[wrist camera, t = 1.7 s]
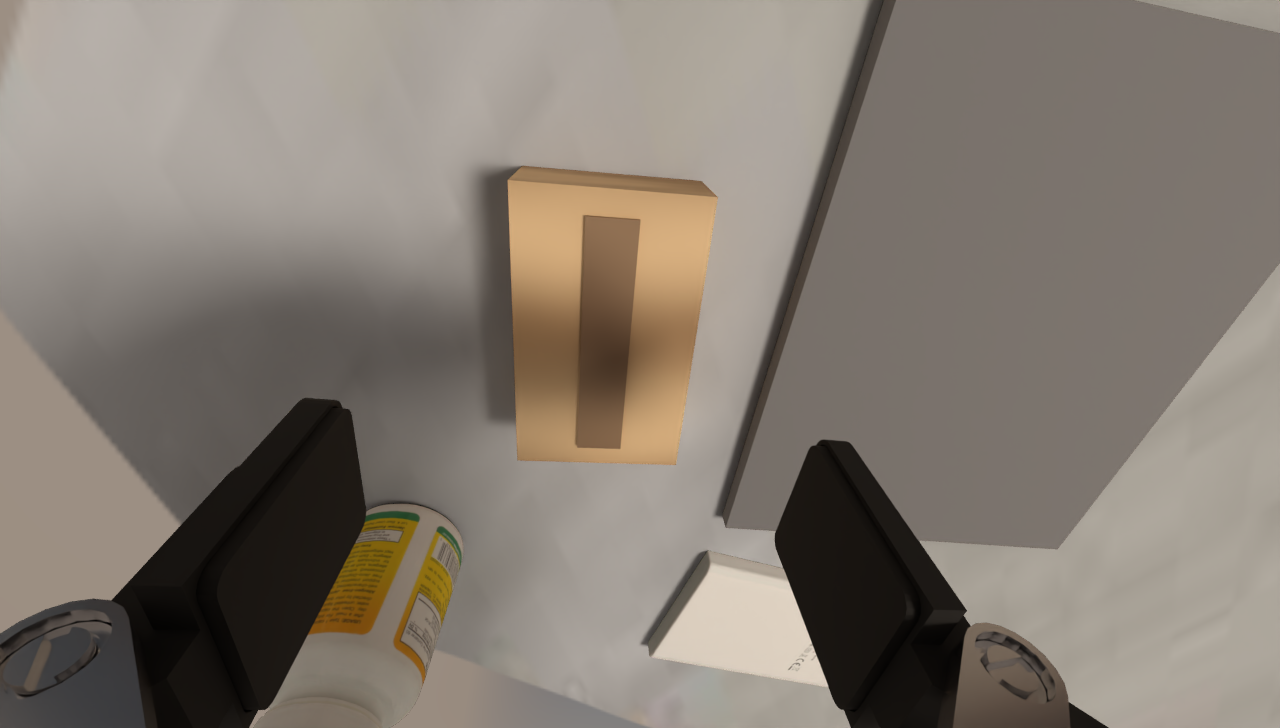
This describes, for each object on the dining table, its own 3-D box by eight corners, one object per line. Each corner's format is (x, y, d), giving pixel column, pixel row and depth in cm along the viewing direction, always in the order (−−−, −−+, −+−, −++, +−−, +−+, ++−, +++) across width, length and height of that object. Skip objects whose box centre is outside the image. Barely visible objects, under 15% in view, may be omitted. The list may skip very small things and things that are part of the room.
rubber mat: (1045, 537, 27) (1057, 549, 26) (722, 515, 25) (725, 527, 24) (1396, 68, 17) (1431, 67, 16) (897, -44, 14) (911, -50, 14)
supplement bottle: (486, 531, 24) (424, 764, 16) (431, 590, 26) (349, 828, 18) (381, 480, 22) (247, 715, 14) (329, 548, 24) (183, 792, 16)
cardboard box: (666, 417, 22) (676, 467, 19) (528, 411, 22) (516, 463, 19) (699, 179, 17) (719, 198, 14) (523, 164, 17) (506, 180, 14)
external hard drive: (705, 541, 26) (896, 588, 29) (646, 633, 30) (822, 667, 33) (711, 567, 25) (911, 614, 28) (648, 660, 29) (832, 693, 31)
